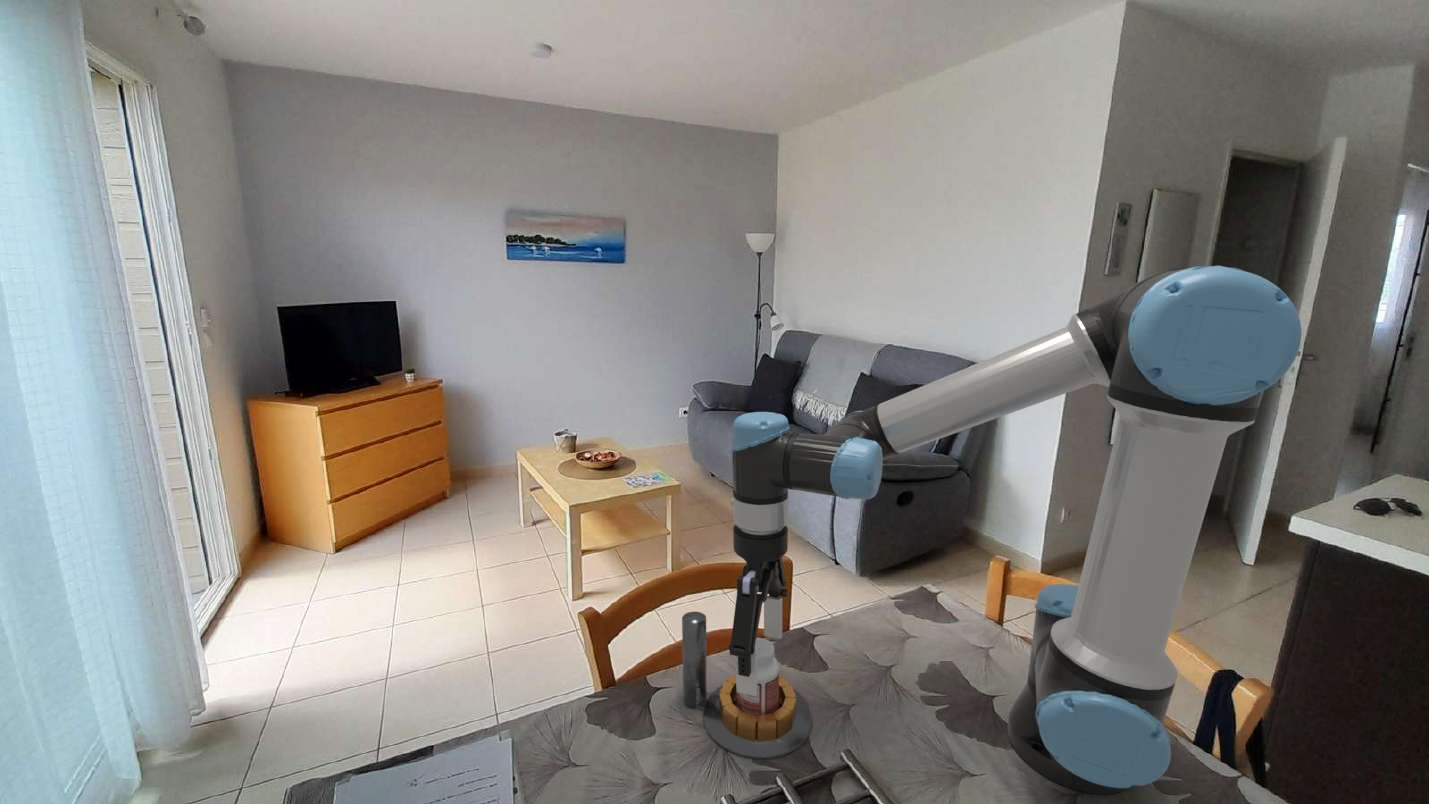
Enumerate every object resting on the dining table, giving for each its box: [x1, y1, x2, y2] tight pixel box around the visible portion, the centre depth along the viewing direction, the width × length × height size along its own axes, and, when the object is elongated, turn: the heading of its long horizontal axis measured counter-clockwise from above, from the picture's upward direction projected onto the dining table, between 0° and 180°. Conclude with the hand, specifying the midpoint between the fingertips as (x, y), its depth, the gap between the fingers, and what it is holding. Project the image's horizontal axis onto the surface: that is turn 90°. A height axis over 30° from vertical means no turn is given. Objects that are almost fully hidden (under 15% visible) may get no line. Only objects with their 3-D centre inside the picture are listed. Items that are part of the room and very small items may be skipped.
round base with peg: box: [681, 611, 813, 760], centre depth 87 cm, size 20×16×14 cm
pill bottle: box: [737, 637, 780, 715], centre depth 86 cm, size 6×6×11 cm
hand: (760, 662), depth 86 cm, fingers open, 13 cm apart
